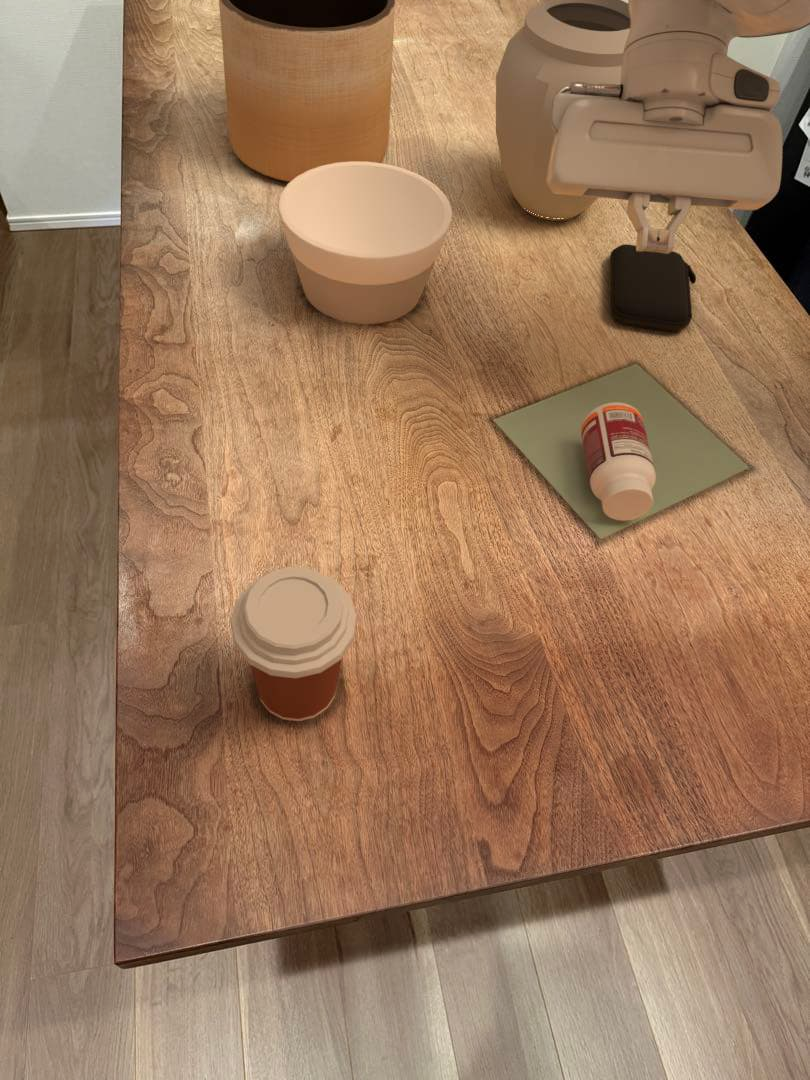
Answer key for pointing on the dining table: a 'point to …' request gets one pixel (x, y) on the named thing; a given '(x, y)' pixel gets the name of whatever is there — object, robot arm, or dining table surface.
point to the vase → (552, 90)
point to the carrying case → (650, 289)
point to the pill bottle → (619, 460)
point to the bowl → (364, 237)
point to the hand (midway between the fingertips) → (654, 251)
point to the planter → (307, 82)
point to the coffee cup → (294, 638)
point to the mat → (672, 432)
